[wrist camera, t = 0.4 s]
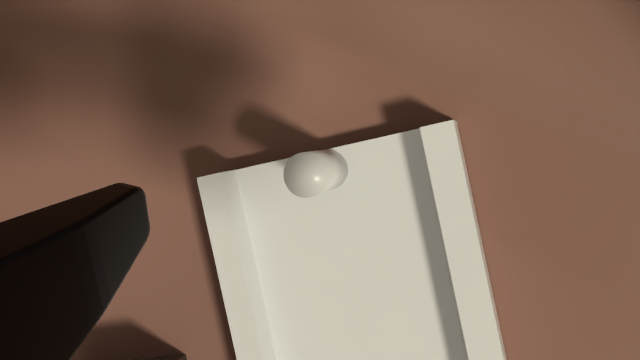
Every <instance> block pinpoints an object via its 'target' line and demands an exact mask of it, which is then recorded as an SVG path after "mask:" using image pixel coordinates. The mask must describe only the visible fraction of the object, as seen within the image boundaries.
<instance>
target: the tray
mask: <svg viewBox="0 0 640 360" xmlns="http://www.w3.org/2000/svg"><path fill="white" fill-rule="evenodd" d="M197 182H198V187H199V191H200V196H201V200H202V205H203V209H204V214H205V219H206V223H207V228H208V232H209V237H210V241H211V246H212V250H213V255H214V259H215V264H216V268H217V273H218V277H219V282H220V286H221V291H222V295H223V300H224V304H225V309H226V314H227V318H228V323H229V327H230V332H231V336H232V341H233V345H234V350H235V354H236V359H237V360H507V359H506V354H505V350H504V345H503V340H502V335H501V331H500V326H499V321H498V316H497V312H496V307H495V302H494V297H493V292H492V288H491V283H490V278H489V273H488V269H487V264H486V259H485V254H484V250H483V245H482V240H481V235H480V230H479V226H478V221H477V216H476V211H475V207H474V202H473V197H472V192H471V188H470V183H469V178H468V173H467V169H466V164H465V159H464V154H463V149H462V145H461V140H460V135H459V130H458V126H457V121H456V120H450V121H445V122H441V123H437V124H432V125H428V126H423V127H420V128H419V129H415V130H410V131H406V132H401V133H397V134H393V135H388V136H384V137H379V138H375V139H370V140H366V141H362V142H357V143H353V144H348V145H344V146H339V147H335V148H330V149H326V150H318V151H309V152H301V153H297V154H295V155H293V156H292V157H291V158H286V159H282V160H277V161H273V162H268V163H264V164H260V165H255V166H251V167H246V168H242V169H237V170H232V171H225V172H220V173H215V174H211V175H207V176H202V177H198V178H197Z"/></svg>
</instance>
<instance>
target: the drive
mask: <svg viewBox="0 0 640 360" xmlns="http://www.w3.org/2000/svg"><path fill="white" fill-rule="evenodd" d="M134 360H187V359H186V355H185V354H183V355H173V356H163V357H153V358H144V359H134Z"/></svg>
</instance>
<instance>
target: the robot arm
mask: <svg viewBox="0 0 640 360" xmlns="http://www.w3.org/2000/svg"><path fill="white" fill-rule="evenodd" d="M149 232H150V222H149V216H148V209H147V203H146V196H145V193H144V191H143V190H142V189H141V188H140V187H137V186H133V185H129V184H125V183H116V184H113V185H110V186H107V187H104V188H101V189H98V190H95V191H92V192H89V193H86V194H83V195H80V196H77V197H75V198H72V199H69V200H66V201H63V202H60V203H57V204H54V205H51V206H48V207H45V208H42V209H39V210H36V211H33V212H30V213H27V214H24V215H21V216H18V217H15V218H12V219H9V220H6V221H3V222H1V223H0V360H70V358H71V357H72V356H73V354H74V353H75V352H76V350H77V349H78V348H79V346H80V345H81V343H82V342H83V341H84V339H85V338H86V337H87V335H88V334H89V333H90V331H91V330H92V329H93V327H94V326H95V324H96V323H97V322H98V320H99V319H100V317H101V316H102V314H103V313H104V312H105V310H106V308H107V307H108V305H109V304H110V302H111V300H112V299H113V297H114V295H115V294H116V292H117V290H118V288H119V287H120V285H121V283H122V282H123V280H124V278H125V277H126V275H127V273H128V271H129V270H130V268H131V266H132V265H133V263H134V261H135V259H136V258H137V256H138V254H139V253H140V251H141V249H142V248H143V246H144V244H145V242H146V241H147V238H148V236H149Z"/></svg>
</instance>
